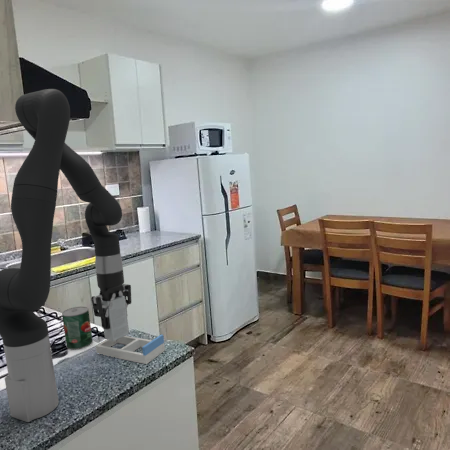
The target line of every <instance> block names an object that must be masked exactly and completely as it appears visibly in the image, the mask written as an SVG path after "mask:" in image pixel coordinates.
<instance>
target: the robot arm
mask: <svg viewBox="0 0 450 450" xmlns="http://www.w3.org/2000/svg"><path fill="white" fill-rule="evenodd" d="M14 106H15V107H14V109H15V115H16V117H17V119H18V121H19V122H20V123H19V124H21V126H22V127H23V128H24V129H25V130H26V132H27V133H28V134H29V135H30V136H31V138H33V140H34V142H33V145H32V147H31V150H30V151H29V153H28V154H27V157H25V159H24V161H23V163H22V164H21V165H20V167H19V170H18V171H17V173H16V175H15V178H14V180H13V186H12V192H11V200H10V211H11V212H10V213H11V216H12V218H13V222H14V224H15V227H16V228H17V232H18V234H19V236H20V240H21V249H22V251H21V258H20V259H21V262H20V267H17V268H16V267H13V268H12V267H9V268H3V269H1V270H0V337H1V339H2V344H3V351H4V356H5V362H6V369H7V375H6V376H5V378H4V383H5V384H4V385H5V390H6V396H7V401H8V406H9V407H8V408H9V412H10V417H11V418H15V419H17V420H19V421H22V422H25V423H30V422H31V421H33V420H37V419H40V418H42V417H45V416H47V415H49V414H50V413H52V412H53V411H54V410H55V409H56V408H57V407H58V405H59V402H60V401H59V396H58V395H59V394H58V387H57V382H56V375H55V368H54V362H53V355H52V348H51V341H50V335H49V328H48V327H49V326H48V323H47V322H46V320H45V319H44V318H42V317H40V316H38V314H36V313H35V312H36V311H38V310H40V309H42V307H44V305H45V304H46V302H47V300H48V297H49V294H50V290H51V278H52V277H51V274H52V271H51V270H52V266H51V265H52V260H51V259H52V239H53V229H54V218H55V214H56V213H55V212H56V206H57V197H58V188H59V187H58V186H59V177H60V172H61V173H62V174H63V175H64V177H65V178H66V180H67V182H68V183H69V185H70V186H71V188H72V190H73V191H74V192H75V194H76V196H77V197H78V199H79V200H81V201H83V202H85V203H88V204H87V205H86V208H85V210H84V219H85V223H86V226H87V228H88V231H89V234H90V236H91V238H92V241H93V246H94V247H93V248H94V256H95V260H94V264H95V274H96V275H95V276H96V283H97V284H96V285H97V287H98V288H99V293H98V295H96V296H91V298H90V299H91V300H90V301H91V305H92V309H93V314H94V317H97V318H100V322H101V323H100V324H101V328H102V329H103V330H104V329H110V321H109V316H108V315H109V312H108V309H111V308H112V305H113V302H112V301H113V300H114V299H115V298H117V297H121V296H125V303H126V312H127V313H128V309H127V308H128V306H129V305H131V304H132V286H131V284H126V283H125V277H124V267H123V266H124V265H123V260H122V253H121V248H120V247H121V245H120V239H119V235H117V234H116V233H114V232H111V231H110V230H109V228H108V227H109V226H116V225H118V224H119V223H120V222H121V221H122V220H123V219H122V217H123V211H122V206H121V205H120V203H119V201H118V200H117V199H116V198H115V197H114V196H113V195H112V193H110V191H108V189H106V188H105V187H104V186H103V185H102V183H101V182H100V180H99V178H98V176H97V174H96V172H95V171H94V169H93V168H92V166H91V165H90V164H89V163H88V161H87V160H86V159H84V157H82V156H81V155H80V154H79V153H77V152H76V151H75V150H74V149H72V148H71V147H70V146H69V145H68V144H67V143H66V139H67V134H68V130H69V125H70V121H71V108H70V107H71V106H70V104H69V101H68V98H67V96H66V95H65V94H64V92H63V91H61V90H59V89H56V88H48V89H47V88H45V89H40V90H37V91H33V92H29V93H25V94H23V95H20V96H19V97H18V98H17V100H16V102H15V105H14ZM102 300H103V301H110V303H109V305H108V306H105V305H103V303H102ZM104 308H106V310H105V313H104Z"/></svg>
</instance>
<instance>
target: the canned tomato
mask: <svg viewBox="0 0 450 450" xmlns="http://www.w3.org/2000/svg"><path fill="white" fill-rule="evenodd" d="M61 316H62V317H61V318H62V323H63V329H64V337H65V338H64V339H65V345H66V346H67V347H66V349H68V350H71V351H72V350H73V351H76V350H82V349H86V348H87V347H89V346H91V345H92V344H93V342H94V341H93V335H92V334H93V333H92V326H91V320H90V319H91V318H90V311H89V307H88V306H82V305H81V306H75V307H70V308H67V309H65V310H63V311H62V312H61Z"/></svg>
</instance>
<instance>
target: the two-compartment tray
mask: <svg viewBox="0 0 450 450" xmlns="http://www.w3.org/2000/svg"><path fill="white" fill-rule="evenodd" d="M164 339H165V338H164V334H160V335H157V337H155V338H153V339H146V338H141V337H135V336H129V335H126V336H124V337H121V338H119V339H117V340H115V341H110V340H108V339H105V340H104V341H102V342H100V343H98V344H97V345H95V348H96V349H95V350H96V354H97V353H99V354H98V355H100V354H103V355H102V356H105V355H107V356H106V357H109V356H111V357H110V358H114V357H115V359H119V360H125V361H129V362H134V363H138V364H144V365H148V363H150V362H152V361H153V360H154V359H156V358H157V357H159V356H160V355H161V354H162V353H164V352H165V351H166V348H165V340H164ZM116 344H121V345H125V346H123V347H122V348H116V347H113V346H115V345H116ZM111 346H112V347H111ZM140 348H142V353H141V352H136V350H138V349H140Z"/></svg>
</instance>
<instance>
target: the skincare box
mask: <svg viewBox="0 0 450 450" xmlns="http://www.w3.org/2000/svg"><path fill="white" fill-rule="evenodd" d="M112 302H113V305H112V308H111V309H108V312H109V315H108V316H109V321H110V329H103V334H104V339H105V340H107V339H108V340H110V341H115V340H117V339H119V338H121V337H124V336H129V335H130V329H129V328H130V327H129V321H128V311H127V312H126V303H125V296H121V297H117V298H115V299H114V300H113V301H112ZM102 303H103V305H105V306H108V305H109V303H110V301H103V300H102ZM105 310H106V308H104V313H105Z"/></svg>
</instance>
